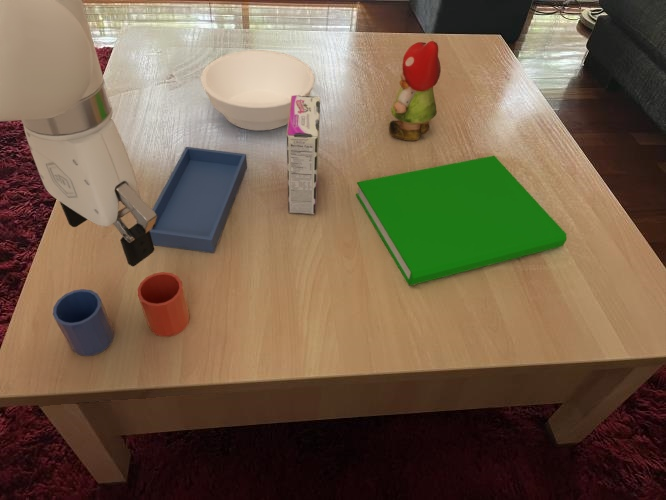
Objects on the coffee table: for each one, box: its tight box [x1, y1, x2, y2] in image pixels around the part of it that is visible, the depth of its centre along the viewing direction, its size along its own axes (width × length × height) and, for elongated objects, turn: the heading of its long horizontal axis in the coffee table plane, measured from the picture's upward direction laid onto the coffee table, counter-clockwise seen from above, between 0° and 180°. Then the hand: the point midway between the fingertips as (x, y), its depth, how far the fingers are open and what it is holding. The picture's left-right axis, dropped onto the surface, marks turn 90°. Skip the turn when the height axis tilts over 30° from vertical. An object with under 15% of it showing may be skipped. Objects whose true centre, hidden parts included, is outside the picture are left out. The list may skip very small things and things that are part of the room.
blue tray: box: [149, 146, 248, 254], centre depth 89 cm, size 22×11×3 cm, turn 173°
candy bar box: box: [286, 95, 321, 216], centre depth 87 cm, size 11×5×16 cm, turn 179°
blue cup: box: [52, 288, 115, 357], centre depth 68 cm, size 6×6×7 cm
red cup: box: [136, 271, 190, 338], centre depth 71 cm, size 6×6×7 cm
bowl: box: [200, 49, 316, 131], centre depth 107 cm, size 22×22×8 cm
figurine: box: [388, 40, 442, 141], centre depth 101 cm, size 11×9×20 cm
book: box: [355, 155, 568, 286], centre depth 90 cm, size 22×28×3 cm
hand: (111, 238), depth 59 cm, fingers open, 9 cm apart
